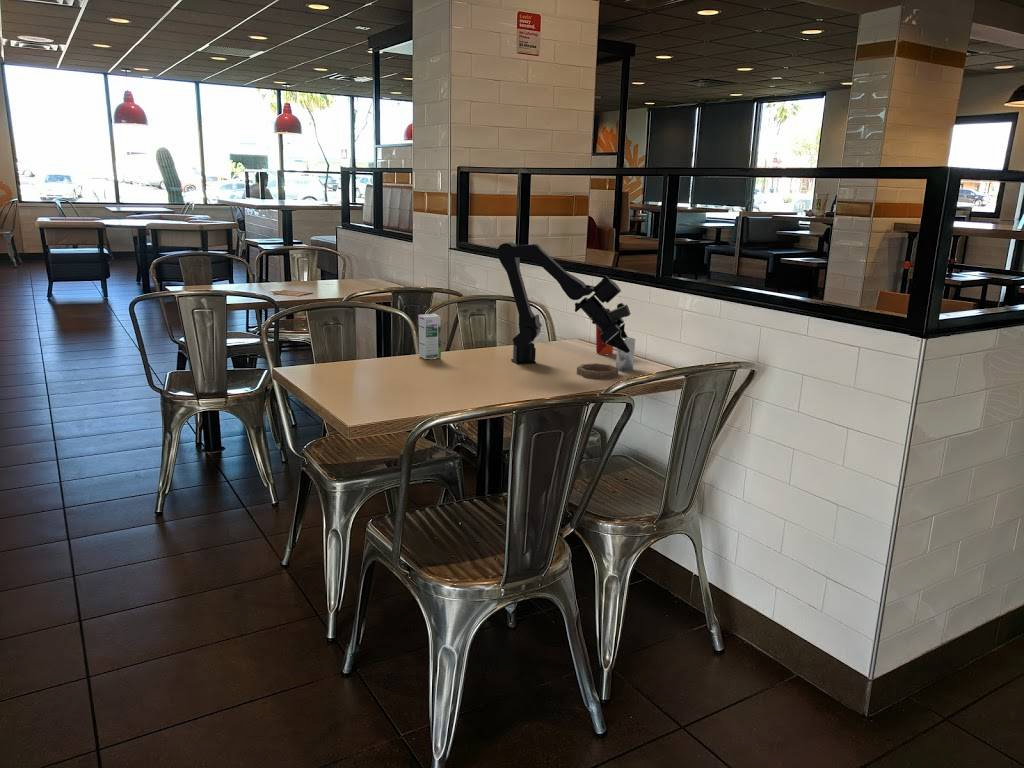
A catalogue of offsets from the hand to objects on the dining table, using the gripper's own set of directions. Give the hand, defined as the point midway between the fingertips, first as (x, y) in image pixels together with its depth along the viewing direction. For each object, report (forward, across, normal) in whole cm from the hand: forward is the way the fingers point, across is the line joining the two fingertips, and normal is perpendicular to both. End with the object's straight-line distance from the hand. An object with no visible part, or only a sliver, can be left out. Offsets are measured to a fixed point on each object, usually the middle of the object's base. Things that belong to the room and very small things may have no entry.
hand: (630, 349), depth 243 cm
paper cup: (-2, +23, +12) cm, 27 cm away
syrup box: (-42, -4, +51) cm, 66 cm away
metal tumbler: (+4, 0, +6) cm, 7 cm away
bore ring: (-2, -9, +11) cm, 15 cm away
